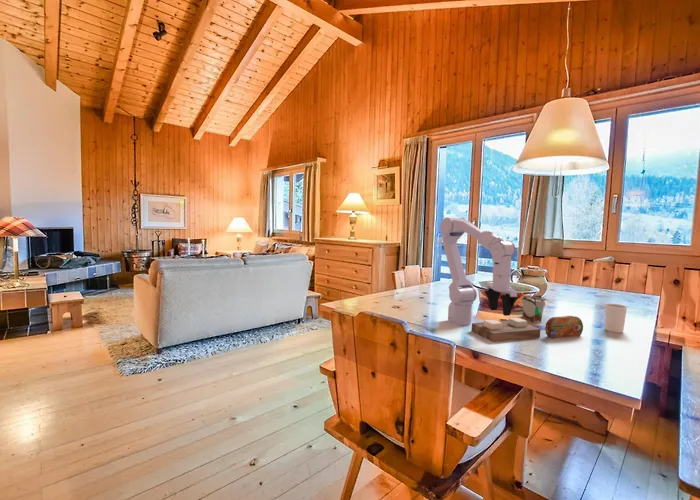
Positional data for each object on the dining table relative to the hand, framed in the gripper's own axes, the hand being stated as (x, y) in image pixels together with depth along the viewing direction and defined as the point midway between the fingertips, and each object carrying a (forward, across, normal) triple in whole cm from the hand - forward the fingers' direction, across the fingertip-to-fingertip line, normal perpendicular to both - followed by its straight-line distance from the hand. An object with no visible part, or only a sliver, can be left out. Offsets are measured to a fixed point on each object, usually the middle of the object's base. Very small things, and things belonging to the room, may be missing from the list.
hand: (499, 312), depth 124 cm
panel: (+10, +2, -4) cm, 11 cm away
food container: (+10, +17, -29) cm, 35 cm away
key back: (+7, +2, -9) cm, 12 cm away
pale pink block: (+7, +1, +2) cm, 7 cm away
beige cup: (+10, +2, -52) cm, 54 cm away
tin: (+10, -3, -24) cm, 26 cm away
